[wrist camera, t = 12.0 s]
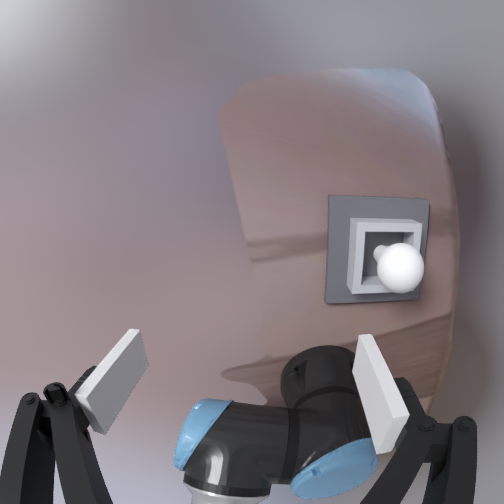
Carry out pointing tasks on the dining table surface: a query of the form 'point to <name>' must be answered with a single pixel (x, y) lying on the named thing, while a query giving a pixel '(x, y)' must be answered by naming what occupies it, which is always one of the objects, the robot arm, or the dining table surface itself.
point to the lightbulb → (399, 267)
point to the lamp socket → (369, 244)
